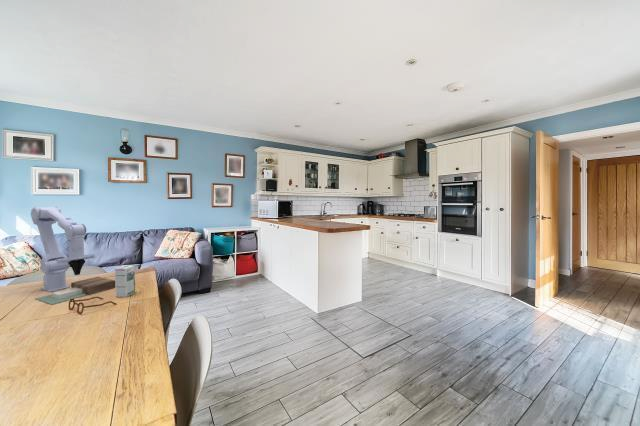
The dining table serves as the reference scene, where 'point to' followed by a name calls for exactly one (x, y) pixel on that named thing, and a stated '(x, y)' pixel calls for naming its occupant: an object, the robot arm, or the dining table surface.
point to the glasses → (85, 306)
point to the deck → (94, 285)
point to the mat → (52, 300)
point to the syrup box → (125, 281)
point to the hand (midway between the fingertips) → (77, 274)
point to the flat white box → (67, 293)
